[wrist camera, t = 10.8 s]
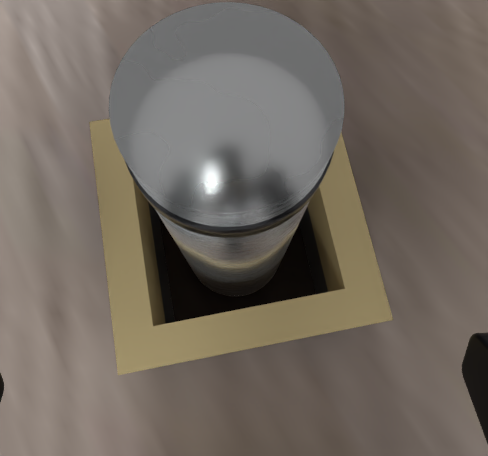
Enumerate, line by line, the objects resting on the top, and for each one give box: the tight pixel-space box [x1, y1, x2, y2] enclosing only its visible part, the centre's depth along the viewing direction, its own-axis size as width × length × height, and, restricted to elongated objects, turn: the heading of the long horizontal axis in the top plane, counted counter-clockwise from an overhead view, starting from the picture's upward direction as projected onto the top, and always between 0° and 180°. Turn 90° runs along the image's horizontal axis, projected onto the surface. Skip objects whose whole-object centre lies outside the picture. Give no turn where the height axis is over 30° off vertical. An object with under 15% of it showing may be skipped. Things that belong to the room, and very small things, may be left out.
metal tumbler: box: [109, 2, 344, 297], centre depth 13 cm, size 4×4×12 cm
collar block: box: [89, 119, 393, 375], centre depth 17 cm, size 8×8×5 cm
